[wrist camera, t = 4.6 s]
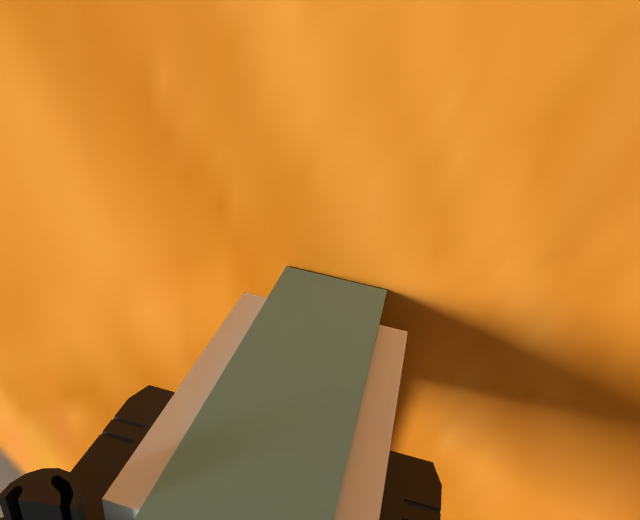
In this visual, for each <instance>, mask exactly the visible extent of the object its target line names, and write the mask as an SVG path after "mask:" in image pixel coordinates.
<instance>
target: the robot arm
mask: <svg viewBox="0 0 640 520" xmlns="http://www.w3.org/2000/svg"><path fill="white" fill-rule="evenodd" d="M266 300H267V297H262V296H258V295H254V294H250V293H246V292H244V293H243V295H242V296H241V298H240V299H239V300H238V302H237V303H236V305H235V306H234V308H233V309H232V311H231V312H230V314H229V315H228V316H227V318H226V319H225V321H224V322H223V324H222V325H221V327H220V328H219V330H218V331H217V332H216V334H215V335H214V337H213V338H212V340H211V341H210V343H209V344H208V346H207V347H206V348H205V350H204V351H203V353H202V354H201V356H200V357H199V359H198V360H197V361H196V363H195V364H194V366H193V367H192V369H191V370H190V372H189V373H188V375H187V376H186V377H185V379H184V380H183V382H182V383H181V385H180V386H179V388H178V389H177V391H176V392H172V391H168V390H164V389H161V388H157V387H154V386H150V385H149V386H147V387H145V388H144V389H142V390H141V391H139V392H138V393H136V394H135V395H133V396H132V397H130V398H129V399H128V400H127V401H126V402H125V404H124V405H123V406H122V407H121V409H120V410H119V411H118V413H117V414H116V415H115V417H114V419H113V420H111V421H110V423H109V424H108V425H107V426H106V428H105V429H104V430H103V433H102V435H99V437H98V438H97V439H96V440H95V442H94V443H93V444H92V445H91V447H90V448H89V449H88V451H87V452H86V453H85V454H84V456H83V457H82V458H81V459H80V461H79V462H78V463H77V464H76V466H75V467H74V468H73V470H72V471H71V472H67V471H65V470H62V469H59V468H45V469H40V470H36V471H33V472H30V473H27V474H25V475H23V476H21V477H20V478H18V479H16V480H15V481H13V482H11V483H10V484H9V485H8V486H7V487H6V488H5V489H4V490H3V491H2V492H1V493H0V505H1V508H2V511H3V515H4V517H3V518H0V520H134V518H135V517H136V515H137V513H138V512H139V510H140V508H141V507H142V505H143V503H144V502H145V500H146V498H147V497H148V495H149V493H150V492H151V490H152V489H153V487H154V485H155V484H156V482H157V480H158V479H159V477H160V475H161V474H162V472H163V470H164V469H165V467H166V465H167V464H168V462H169V460H170V459H171V457H172V455H173V454H174V452H175V450H176V449H177V447H178V445H179V444H180V442H181V440H182V439H183V437H184V435H185V434H186V432H187V430H188V429H189V427H190V426H191V424H192V422H193V421H194V419H195V417H196V416H197V414H198V412H199V411H200V409H201V407H202V406H203V404H204V402H205V401H206V399H207V397H208V396H209V394H210V392H211V391H212V389H213V387H214V386H215V384H216V382H217V381H218V379H219V377H220V376H221V374H222V372H223V371H224V369H225V367H226V366H227V364H228V363H229V361H230V359H231V358H232V356H233V354H234V353H235V351H236V349H237V348H238V346H239V344H240V343H241V341H242V339H243V338H244V336H245V334H246V333H247V331H248V329H249V328H250V326H251V324H252V323H253V321H254V319H255V318H256V316H257V314H258V313H259V311H260V309H261V308H262V306H263V305H264V303H265V301H266ZM407 334H408V332H407V331H403V330H399V329H395V328H391V327H387V326H383V325H379V329H378V333H377V337H376V341H375V345H374V350H373V354H372V358H371V362H370V367H369V371H368V375H367V379H366V383H365V388H364V392H363V396H362V400H361V404H360V409H359V413H358V417H357V421H356V426H355V430H354V434H353V438H352V442H351V447H350V451H349V455H348V459H347V463H346V468H345V472H344V476H343V480H342V485H341V489H340V493H339V498H338V502H337V506H336V510H335V515H334V519H333V520H440V515H441V514H440V510H441V490H442V485H441V483H440V480H439V477H438V475H437V472H436V469H435V467H434V464H433V462H429V461H426V460H422V459H418V458H415V457H411V456H408V455H404V454H400V453H397V452H393V451H390V445H391V439H392V432H393V426H394V419H395V412H396V406H397V399H398V393H399V386H400V380H401V373H402V367H403V360H404V353H405V347H406V340H407Z"/></svg>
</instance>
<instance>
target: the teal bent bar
mask: <svg viewBox="0 0 640 520" xmlns="http://www.w3.org/2000/svg"><path fill="white" fill-rule="evenodd" d="M386 293H387V290H385V289H380V288H376V287H372V286H368V285H364V284H359V283H355V282H351V281H347V280H342V279H338V278H334V277H330V276H326V275H321V274H317V273H313V272H309V271H305V270H300V269H296V268H292V267H288V266H286V268H285V270H284V271H283V273H282V275H281V276H280V278H279V280H278V281H277V283H276V285H275V286H274V288H273V290H272V291H271V293H270V295H269V296H268V298H267V300H266V301H265V303H264V305H263V306H262V308H261V309H260V311H259V313H258V314H257V316H256V318H255V319H254V321H253V323H252V324H251V326H250V328H249V329H248V331H247V333H246V334H245V336H244V338H243V339H242V341H241V343H240V344H239V346H238V348H237V349H236V351H235V353H234V354H233V356H232V358H231V359H230V361H229V363H228V364H227V366H226V367H225V369H224V371H223V372H222V374H221V376H220V377H219V379H218V381H217V382H216V384H215V386H214V387H213V389H212V391H211V392H210V394H209V396H208V397H207V399H206V401H205V402H204V404H203V406H202V407H201V409H200V411H199V412H198V414H197V416H196V417H195V419H194V421H193V422H192V424H191V426H190V427H189V429H188V430H187V432H186V434H185V435H184V437H183V439H182V440H181V442H180V444H179V445H178V447H177V449H176V450H175V452H174V454H173V455H172V457H171V459H170V460H169V462H168V464H167V465H166V467H165V469H164V470H163V472H162V474H161V475H160V477H159V479H158V480H157V482H156V484H155V485H154V487H153V489H152V490H151V492H150V493H149V495H148V497H147V498H146V500H145V502H144V503H143V505H142V507H141V508H140V510H139V512H138V513H137V515H136V517H135V518H134V520H333V519H334V515H335V510H336V506H337V502H338V498H339V493H340V489H341V485H342V480H343V476H344V472H345V468H346V463H347V459H348V455H349V451H350V447H351V442H352V438H353V434H354V430H355V426H356V421H357V417H358V413H359V409H360V404H361V400H362V396H363V392H364V388H365V383H366V379H367V375H368V371H369V366H370V362H371V358H372V353H373V349H374V345H375V340H376V336H377V332H378V328H379V323H380V319H381V315H382V310H383V306H384V302H385V298H386Z"/></svg>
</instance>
